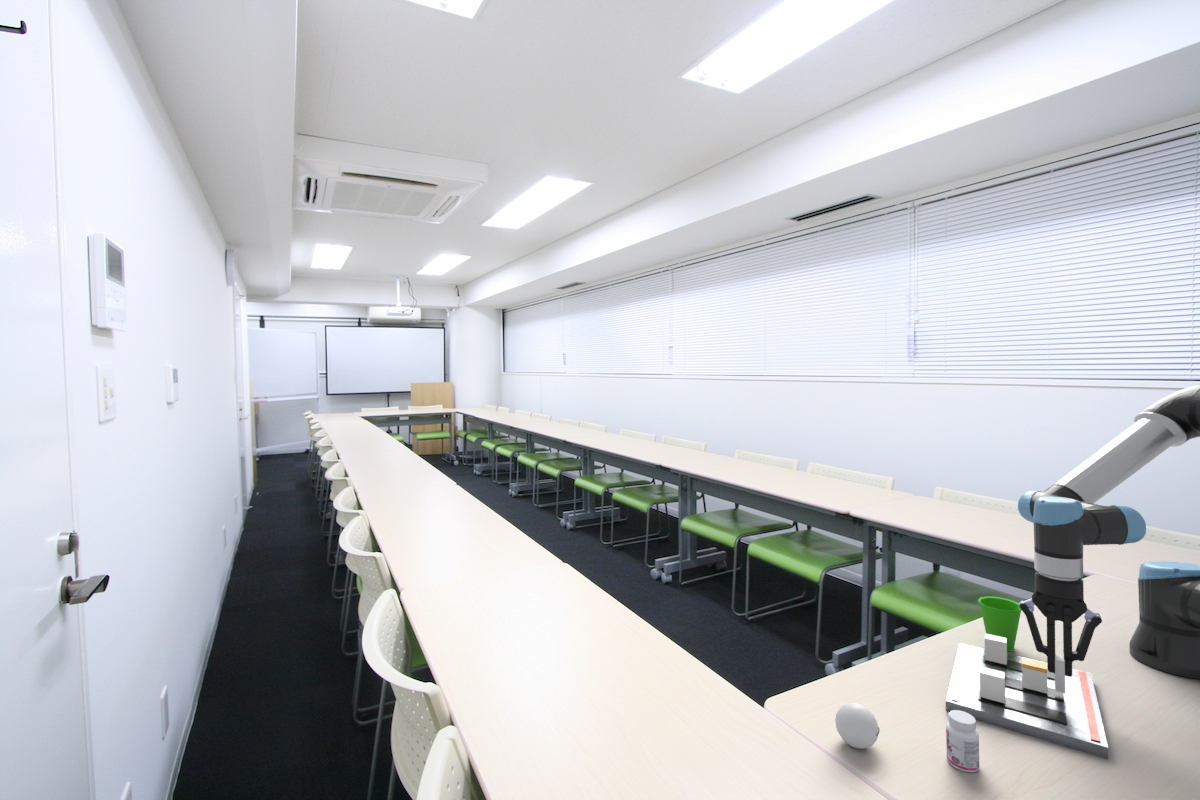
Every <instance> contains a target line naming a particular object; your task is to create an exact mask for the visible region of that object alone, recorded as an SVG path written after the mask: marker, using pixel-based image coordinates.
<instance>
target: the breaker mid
mask: <svg viewBox="0 0 1200 800" xmlns="http://www.w3.org/2000/svg"><path fill="white" fill-rule="evenodd" d="M1026 658H1027V657H1024V658H1022V687H1023V688H1027V689H1031V690H1035V691H1039V692H1043V693H1047V662H1046V663H1043V662H1044V661H1042V662H1039V661H1040V660H1037V661H1034V660H1035V659H1033V660H1030V659H1031V658H1028V659H1026Z"/></svg>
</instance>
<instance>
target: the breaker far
mask: <svg viewBox="0 0 1200 800" xmlns="http://www.w3.org/2000/svg"><path fill="white" fill-rule="evenodd" d="M984 633H985V634H984V648H985V660H988V661H992V662H996V663H1001V664H1005V665H1007V654H1008V652H1007V638H1005V637H1000V636H995V635H991V634H986V632H984Z"/></svg>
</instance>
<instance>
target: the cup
mask: <svg viewBox="0 0 1200 800" xmlns="http://www.w3.org/2000/svg"><path fill="white" fill-rule="evenodd" d="M977 602H978V603H979V606H980V610H981V615H982V620H983V626H984V630H985V633H986V634H991V635H995V636H1000V637H1005V638H1007V653H1008V652H1013V650H1014V649H1015V646H1016V640H1017V634H1018V631H1019V630H1018V629H1019V624H1020V618H1021V614H1022V610H1021V608H1020V607H1019V602H1017V601H1015V600H1013V599H1008V598H1005V597H999V596H992V595H991V596H981V597H979V598H978V599H977Z"/></svg>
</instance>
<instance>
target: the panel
mask: <svg viewBox="0 0 1200 800" xmlns="http://www.w3.org/2000/svg"><path fill="white" fill-rule="evenodd" d="M1022 658H1026V659H1030V660H1034V661H1039V662H1043V663H1047V662H1045V661H1041V660H1036V659H1033V658H1028V657H1024V656H1020V655H1019V656H1018V655H1014V654H1010V653H1007V665H1005V664H1001V663H996V662H992V661H988V660H985V647H979V646H975V645H972V644H971V645H970V644H966V643H962V642H959V643H958V646H957V650H956V655H955V659H954V663H953V668H952V672H951V677H950V680H949V684H948V685H949V686H948V689H947V693H946V699H945V711H946V710H947V712H949V711H951V710H960V711H964V712H966V713H969V714H970V715H972V716H973V717H974V718H975V720H976V721H980V722H983V723H987V724H991V725H992V726H996V727H1000V728H1004V729H1006V730H1011V731H1014V732H1017V733H1021V734H1024V735H1027V736H1031V737H1033V738H1036V739H1041V740H1044V741H1047V742H1050V743H1054V744H1056V745H1060V746H1064V747H1068V748H1071V749H1075V750H1076V751H1077V750H1078V751H1081V752H1085V753H1087V754H1090V755H1094V756H1098V757H1101V758H1105V759H1109V744H1108V741H1107V737H1106V732H1105V727H1104V723H1103V719H1102V714H1101V710H1100V706H1099V703H1098V698H1097V693H1096V690H1095V689H1096V688H1095V685H1094V682H1093V681H1094V680H1093V676H1092V672H1091V671H1085V670H1081V669H1077V668H1076V669H1075V668H1072V676H1071V677H1069V676H1065V693H1061V692H1057V691H1055V673H1052V672H1049V671H1048V667H1047V693H1043V692H1039V691H1035V690H1031V689H1027V688H1023V687H1022ZM981 666H982V667H986V668H990V669H994V670H998V671H1002V672H1005V703H1001V702H997V701H994V700H990V699H986V698H983V697H980V667H981Z"/></svg>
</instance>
